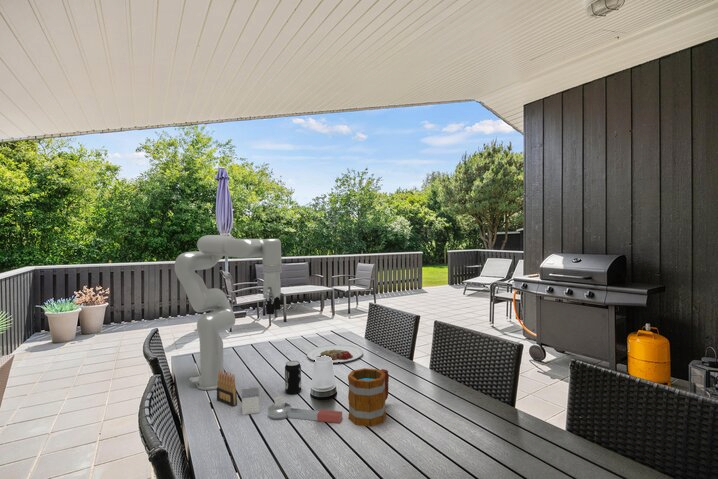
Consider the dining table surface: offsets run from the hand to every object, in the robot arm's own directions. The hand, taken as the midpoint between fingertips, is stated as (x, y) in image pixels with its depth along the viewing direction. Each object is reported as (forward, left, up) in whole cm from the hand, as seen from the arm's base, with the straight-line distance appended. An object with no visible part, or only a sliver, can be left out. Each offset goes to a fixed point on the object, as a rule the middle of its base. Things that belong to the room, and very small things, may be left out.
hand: (273, 311), depth 153 cm
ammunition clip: (-19, 0, -34) cm, 39 cm away
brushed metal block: (-10, -10, -34) cm, 37 cm away
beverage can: (+7, +2, -34) cm, 35 cm away
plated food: (+34, +43, -35) cm, 65 cm away
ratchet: (+9, -22, -34) cm, 41 cm away
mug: (+32, -27, -34) cm, 55 cm away
